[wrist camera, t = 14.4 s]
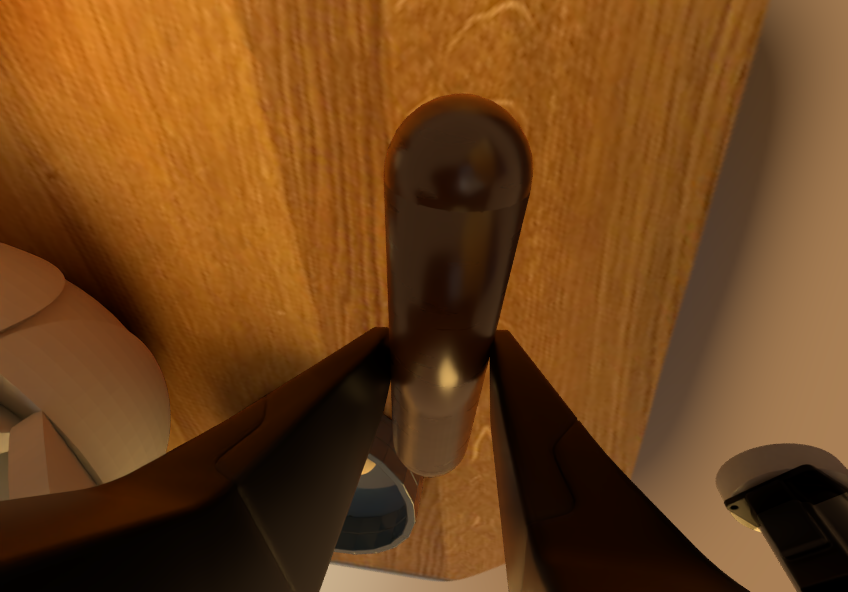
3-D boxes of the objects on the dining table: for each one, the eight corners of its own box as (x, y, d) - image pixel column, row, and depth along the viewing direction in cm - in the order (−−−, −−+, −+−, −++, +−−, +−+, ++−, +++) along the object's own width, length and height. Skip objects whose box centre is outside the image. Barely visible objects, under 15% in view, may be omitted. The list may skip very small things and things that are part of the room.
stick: (459, 420, 13) (468, 489, 11) (394, 420, 13) (392, 490, 11) (527, 82, 6) (577, 121, 4) (384, 76, 6) (374, 114, 4)
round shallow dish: (461, 456, 28) (456, 500, 25) (373, 534, 36) (361, 574, 33) (276, 351, 26) (247, 384, 23) (228, 458, 34) (201, 492, 31)
